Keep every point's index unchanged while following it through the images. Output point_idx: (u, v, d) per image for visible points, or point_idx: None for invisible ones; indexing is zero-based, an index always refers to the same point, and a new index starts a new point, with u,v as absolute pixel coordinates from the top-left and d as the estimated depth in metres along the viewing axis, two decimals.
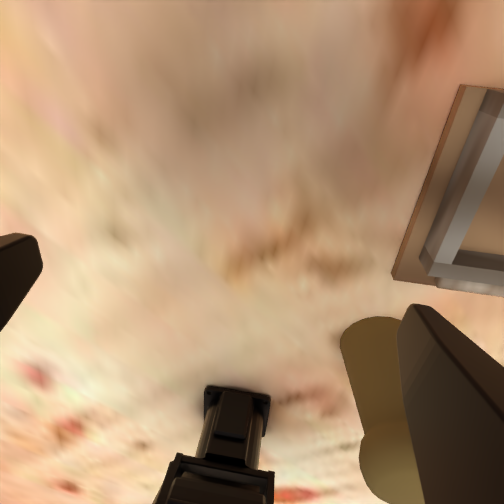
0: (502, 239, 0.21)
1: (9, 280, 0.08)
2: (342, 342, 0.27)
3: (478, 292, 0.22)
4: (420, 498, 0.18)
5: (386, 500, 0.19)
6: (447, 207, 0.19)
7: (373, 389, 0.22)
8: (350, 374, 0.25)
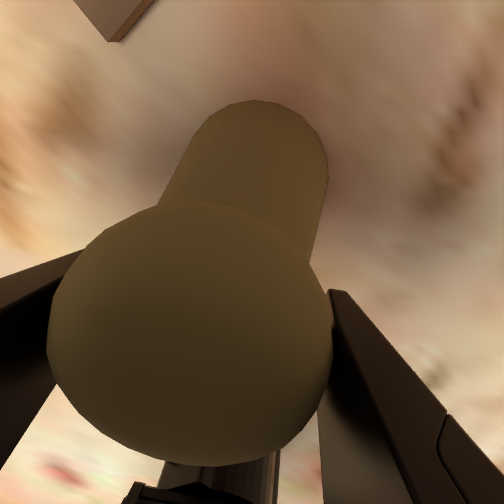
0: None
1: None
2: None
3: None
4: (177, 409, 0.05)
5: (179, 461, 0.06)
6: None
7: None
8: None
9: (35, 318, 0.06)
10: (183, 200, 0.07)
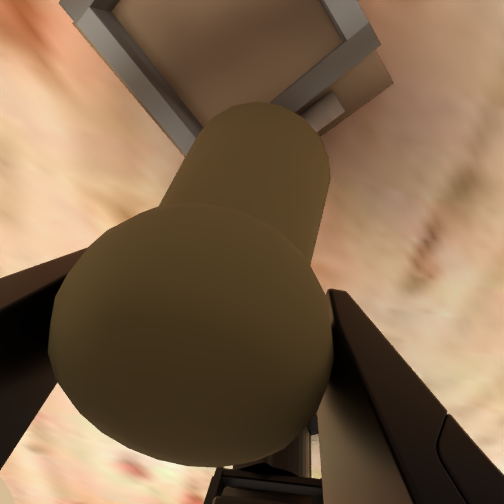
0: (251, 89, 0.18)
1: None
2: None
3: None
4: (177, 410, 0.05)
5: (180, 462, 0.06)
6: None
7: None
8: None
9: (35, 318, 0.06)
10: (184, 201, 0.07)
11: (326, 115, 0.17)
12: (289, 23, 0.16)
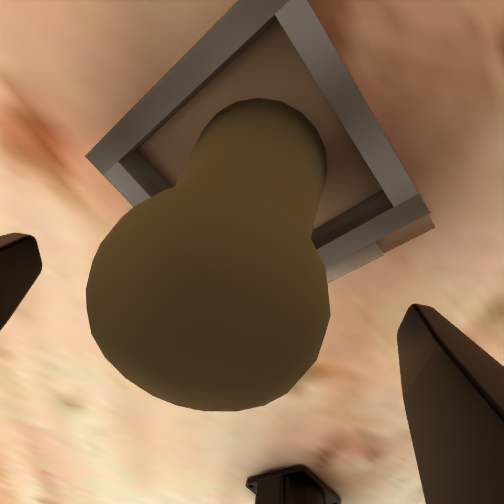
0: None
1: (8, 280, 0.08)
2: None
3: None
4: (199, 352, 0.06)
5: (198, 406, 0.07)
6: None
7: None
8: None
9: None
10: None
11: (364, 260, 0.16)
12: (328, 169, 0.15)
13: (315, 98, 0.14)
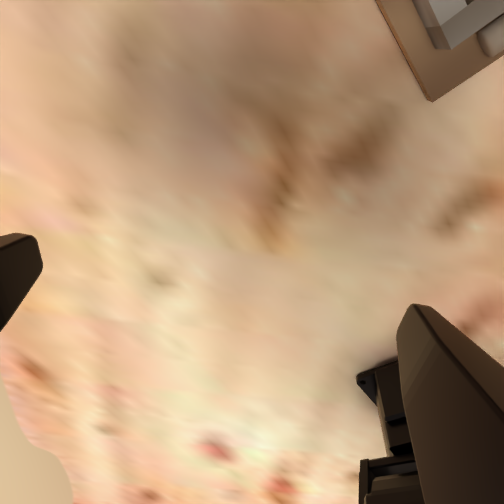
0: None
1: (9, 280, 0.08)
2: None
3: None
4: None
5: None
6: None
7: None
8: None
9: None
10: None
11: None
12: None
13: None
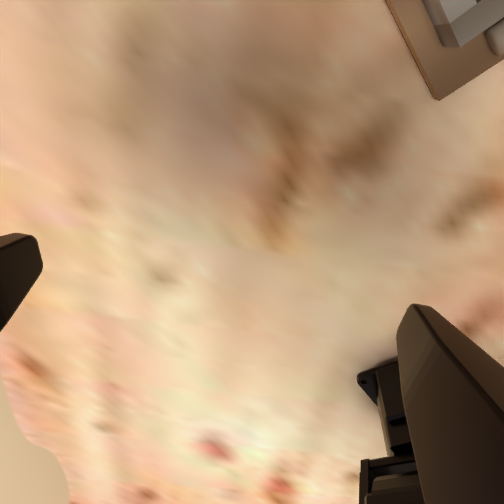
0: None
1: (9, 280, 0.08)
2: None
3: None
4: None
5: None
6: None
7: None
8: None
9: None
10: None
11: None
12: None
13: None
